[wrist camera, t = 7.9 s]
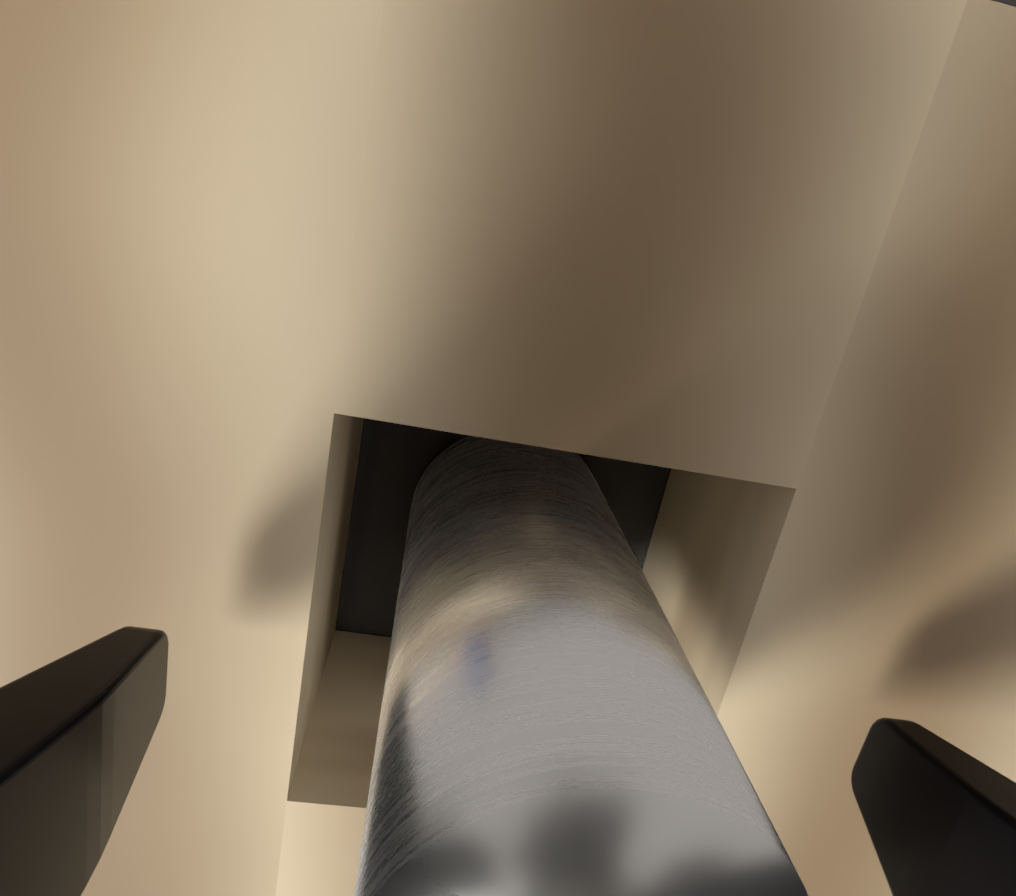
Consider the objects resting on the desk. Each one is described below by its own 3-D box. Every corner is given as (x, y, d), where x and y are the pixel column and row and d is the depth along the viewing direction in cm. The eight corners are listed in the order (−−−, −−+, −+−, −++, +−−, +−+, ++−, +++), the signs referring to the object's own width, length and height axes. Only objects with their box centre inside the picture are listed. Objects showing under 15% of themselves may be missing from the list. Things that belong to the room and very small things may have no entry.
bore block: (1088, 144, 11) (1409, 113, 7) (778, 881, 16) (876, 1086, 12) (25, -118, 9) (-277, -345, 5) (42, 819, 14) (-108, 1042, 10)
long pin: (622, 444, 12) (886, 819, 5) (578, 614, 13) (736, 1137, 6) (426, 411, 12) (376, 768, 4) (396, 589, 13) (316, 1123, 5)
